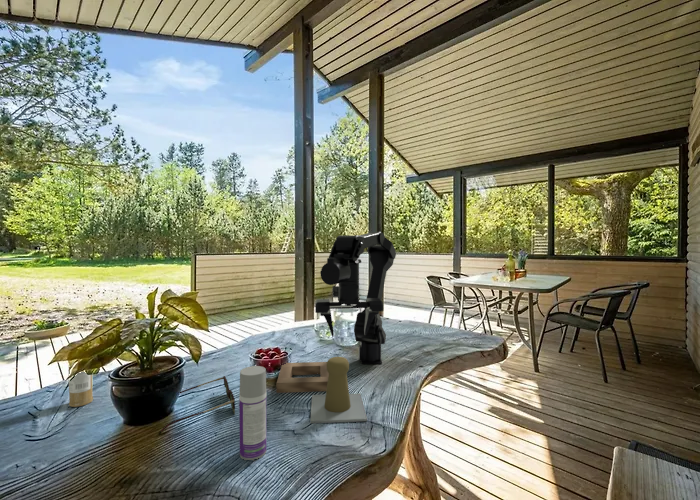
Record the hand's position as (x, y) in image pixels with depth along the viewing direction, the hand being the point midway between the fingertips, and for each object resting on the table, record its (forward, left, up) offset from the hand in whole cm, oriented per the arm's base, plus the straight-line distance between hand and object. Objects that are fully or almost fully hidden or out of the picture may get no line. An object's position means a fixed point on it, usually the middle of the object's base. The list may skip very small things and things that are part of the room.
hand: (349, 335), depth 95 cm
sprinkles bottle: (+64, +11, -12) cm, 66 cm away
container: (+20, +33, -12) cm, 40 cm away
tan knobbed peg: (+4, +17, -12) cm, 21 cm away
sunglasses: (+36, +17, -13) cm, 41 cm away
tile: (+4, +18, -12) cm, 22 cm away
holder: (+12, +2, -12) cm, 17 cm away
